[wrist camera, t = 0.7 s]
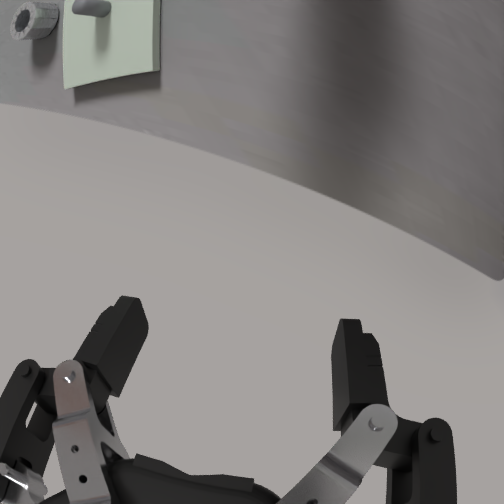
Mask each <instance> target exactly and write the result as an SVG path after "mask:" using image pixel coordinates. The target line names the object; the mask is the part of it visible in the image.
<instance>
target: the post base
mask: <svg viewBox="0 0 504 504" xmlns="http://www.w3.org/2000/svg"><path fill="white" fill-rule="evenodd" d="M160 2H161V0H65V5H64V21H63V77H64V90H65V89H69V88H74V87H78V86H82V85H86V84H90V83H94V82H98V81H103V80H107V79H112V78H117V77H122V76H128V75H134V74H140V73H146V72H153V71H160Z"/></svg>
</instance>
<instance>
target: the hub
mask: <svg viewBox="0 0 504 504" xmlns="http://www.w3.org/2000/svg"><path fill="white" fill-rule="evenodd" d="M58 13H59V9H58V7H57V6H56V4H53V3H45V2H26V3H24V4H23V5H21V6H20V7H19V9H18V10H17V11H16V13H15V14H14V17H13V19H12V22H11V29H10V32H11V36H12V38H13V39H15V40H29V39H42V38H44V37H46V36H48V35H49V34H50V32H51V31H52V30H53V29H54V27H55V25H56V22H57V20H58Z"/></svg>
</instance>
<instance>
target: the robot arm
mask: <svg viewBox="0 0 504 504" xmlns="http://www.w3.org/2000/svg"><path fill="white" fill-rule="evenodd" d="M147 334H148V321H147V318H146V316H145V313H144V310H143V307H142V304H141V301H140V299H139V298H135V297H128V296H121V297H120V298H119V299H118V301H117V302H116V304H115V305H114V306H110V307H108V308H107V309H106V310H105V311H104V312H103V313H101V315H100V316H99V318H98V319H97V321H96V324H95V325H94V326H93V327H92V329H91V332H89V334H88V335H87V337H86V339H85V340H84V342H83V344H82V345H81V347H80V349H79V350H78V352H77V354H76V356H75V357H74V358H73V360H66V361H64V362H62V363H61V364H59V365H58V366H57V368H40V366H39V365H38V364H37V362H36V361H34V360H32V359H27V360H24V361H22V362H21V363H20V364H19V365H18V366H17V367H16V369H15V371H14V372H13V374H12V376H11V378H10V380H9V382H8V384H7V386H6V388H5V389H4V391H3V393H2V395H1V397H0V504H345V502H346V501H347V500H348V499H349V498H350V497H351V496H352V494H353V493H354V492H355V491H356V489H357V488H358V487H359V485H360V484H361V482H362V478H363V477H364V475H365V474H366V473H367V472H368V470H369V469H370V467H371V466H372V465H376V466H380V467H384V468H387V492H386V493H387V494H386V504H457V487H456V486H457V485H456V468H455V467H456V466H455V454H454V445H453V436H452V430H451V428H450V426H449V425H448V423H447V422H446V421H444V420H442V419H440V418H431V419H428V420H427V421H425V422H424V423H418V422H414V421H410V420H406V419H403V418H401V417H399V416H397V415H396V414H395V413H394V411H393V410H392V409H391V408H390V406H389V403H388V397H387V391H386V383H385V377H384V371H383V368H382V359H381V354H380V348H379V344H378V342H377V341H376V339H375V338H374V336H373V335H372V333H363V332H362V325H361V321H360V320H359V319H340V321H339V324H338V328H337V331H336V335H335V338H334V342H333V345H332V354H331V361H332V388H333V431H341V438H340V439H339V440H338V441H337V443H336V444H335V445H334V446H333V447H332V448H331V450H330V451H329V452H328V453H327V454H326V455H325V456H324V457H323V458H322V459H321V460H320V461H319V462H318V463H317V464H316V465H315V466H314V467H313V468H312V469H311V471H310V472H309V473H308V474H307V475H306V476H305V477H304V478H303V479H302V480H301V481H300V482H299V483H298V484H297V485H296V486H295V487H294V488H293V489H292V490H291V491H289V492H288V493H287V494H286V495H285V496H284V497H283V498H282V499H281V498H280V497H279V496H277V495H276V494H275V493H274V492H272V491H270V490H268V489H267V488H265V487H263V486H261V485H258V484H255V483H254V479H253V478H245V477H237V476H230V475H223V474H222V475H188V474H186V473H184V472H182V471H180V470H178V469H176V468H174V467H172V466H171V465H169V464H167V463H165V462H163V461H160V460H156V459H153V458H150V457H146V456H143V455H140V454H136V456H135V459H130V458H129V456H128V453H127V452H126V449H125V448H124V446H123V445H122V443H121V441H120V439H119V436H118V433H117V430H116V427H115V424H114V420H113V417H112V413H111V410H110V406H109V403H108V401H107V400H108V397H109V395H112V396H115V397H119V396H120V394H121V392H122V389H123V387H124V384H125V383H126V380H127V378H128V376H129V374H130V372H131V369H132V367H133V365H134V363H135V361H136V358H137V356H138V354H139V352H140V350H141V348H142V346H143V343H144V341H145V339H146V337H147ZM34 402H36V404H37V406H36V408H35V411H34V413H33V415H32V418H31V420H30V422H29V424H28V427H27V428H26V419H27V417H28V415H29V412H30V410H31V408H32V406H33V403H34ZM54 442H55V445H56V450H57V455H58V460H59V464H60V469H61V473H62V476H63V480H64V484H65V487H66V489H65V490H63V491H61V492H59V493H57V494H55V495H53V496H51V497H49V498H47V499H46V500H44V495H46V494H47V487H46V486H45V485H44V482H43V479H42V477H43V474H44V471H45V468H46V465H47V462H48V459H49V456H50V453H51V451H52V448H53V445H54Z"/></svg>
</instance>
